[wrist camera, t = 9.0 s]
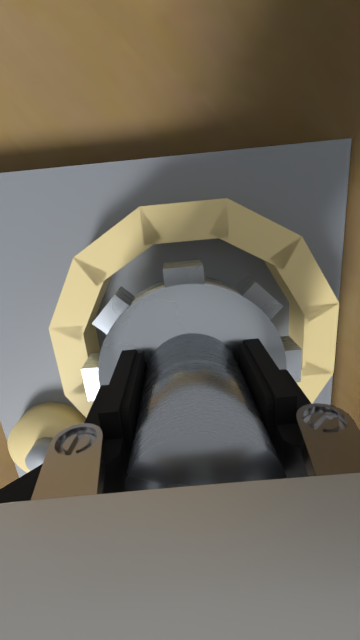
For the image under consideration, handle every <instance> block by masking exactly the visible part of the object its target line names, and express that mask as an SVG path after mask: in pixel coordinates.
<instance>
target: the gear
mask: <svg viewBox="0 0 360 640" xmlns="http://www.w3.org/2000/svg"><path fill="white" fill-rule="evenodd" d="M163 276H164V281H160V282H158V283H156V284H153V285H151V286H149V287H147V288H146V289H144V290H143V291H141V292H139V293H138V294H137V295H136V296H134V295H132V294H131V293H130V292H128V291H127V290H126V289H125V288H123V287H122V286H121V287H120V288H119V289H118V291H117V292H116V293H115V294H114V296H113V297H112V298H111V299H110V301H109V302H108V303H107V305H106V306H105V307H104V308H103V310H102V311H101V312H100V314H99V315H98V316H97V317H96V319H95V320H94V321H93V323H92V324H93V325H94V326H96V327H97V328H99V329H100V330H101V331H103V332H104V333H105V334H107V336H106V338H105V340H104V342H103V345H102V348H101V351H100V353H91V354H90V355H89V357H88V359H87V360H86V362H85V364H84V365H83V367H82V369H81V371H82V375H83V380H84V385H85V389H86V394H87V398H88V401H90V400H94V399H95V397H96V395H97V392H98V390H99V388H100V386H101V385H109V383H110V380H111V378H112V375H113V372H114V370H115V367H116V365H117V362H118V359H119V357H120V354H121V352H122V350H134V349H137V352H138V353H143V358H144V365H145V372H146V373H145V378H144V384H143V389H142V395H141V400H140V405H139V411H138V416H137V422H136V427H135V433H134V438H133V444H132V449H131V454H130V460H129V465H128V471H127V476H126V482H125V487H124V492H129V491H140V490H151V489H163V488H175V487H186V486H198V485H210V484H222V483H234V482H246V481H259V480H272V479H284V478H287V477H286V474H285V472H284V470H283V467H282V465H281V463H280V460H279V458H278V456H277V453H276V451H275V449H274V446H273V444H272V442H271V439H270V437H269V434H268V432H267V430H266V427H265V425H264V423H263V420H262V418H261V416H260V413H259V411H258V409H257V406H256V404H255V402H254V399H253V397H252V395H251V392H250V390H249V388H248V385H247V383H246V381H245V378H244V376H243V374H242V371H241V369H240V367H239V364H238V344H242V343H243V340H245V339H257V338H258V339H259V340H260V341H261V343H262V344H263V346H264V347H265V349H266V350H267V352H268V353H269V355H270V356H271V358H272V359H273V361H274V362H275V364H276V365H277V367H278V368H279V370H281V369H286V370H287V371H288V372H289V373H290V374H291V376H292V377H293V379H294V380H295V381H296V382H301V362H302V349H301V348H300V347H299V346H298V345H297V344H296V343H295V342H294V341H293V339H292V338H291V337H290V336H280V335H279V333H278V331H277V330H276V328H275V326H274V324H273V323H272V322H271V321H270V320H271V319H272V317H273V316H274V315H275V314H276V313H277V312H278V311H279V310H280V309H281V308H282V307H283V305H281V304H280V303H279V302H278V301H277V300H276V299H275V298H273V297H272V296H271V295H270V294H269V293H268V292H267V291H265V290H264V289H263V288H262V287H261V286H260V285H259V284H258V283H256V282H255V281H254V280H253V279H252V278H250V277H249V276H248V275H246V276H245V277H244V278H243V279H242V280H241V281H240V282H239V283H238V284H237V286H236V287H234V286H232V285H230V284H228V283H225V282H223V281H220V280H217V279H213V278H209V277H204V266H203V264H202V262H201V260H191V261H181V262H170V263H164V266H163Z"/></svg>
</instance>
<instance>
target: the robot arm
mask: <svg viewBox="0 0 360 640" xmlns="http://www.w3.org/2000/svg"><path fill="white" fill-rule="evenodd" d="M238 364H239V367H240V369H241V371H242V374H243V376H244V378H245V381H246V383H247V385H248V388H249V390H250V392H251V395H252V397H253V399H254V402H255V404H256V406H257V409H258V411H259V413H260V416H261V418H262V420H263V423H264V425H265V427H266V430H267V432H268V434H269V437H270V439H271V442H272V444H273V446H274V449H275V451H276V453H277V456H278V458H279V460H280V463H281V465H282V467H283V470H284V472H285V474H286V477H287V478H284V479H272V480H259V481H246V482H234V483H222V484H210V485H198V486H186V487H175V488H163V489H151V490H140V491H129V492H124V487H125V482H126V476H127V471H128V465H129V460H130V454H131V449H132V444H133V438H134V433H135V427H136V422H137V416H138V411H139V405H140V400H141V395H142V389H143V384H144V378H145V373H146V372H145V365H144V358H143V353H138V352H137V349H134V350H122V352H121V354H120V357H119V359H118V362H117V365H116V367H115V370H114V372H113V375H112V378H111V380H110V383H109V385H101V386H100V388H99V390H98V392H97V395H96V397H95V399H94V402H93V404H92V406H91V408H90V411H89V413H88V415H87V418H86V420H85V422H84V423H83V424H77V425H73V426H70V427H68V428H66V429H64V430H62V431H61V432H60V433H58V434H57V435H56V436H55V437H54V438H53V439H52V440H51V442H50V444H49V447H48V450H47V453H46V456H45V459H44V462H43V464H41V465H40V466H38V467H36V468H35V469H33V470H31V471H30V472H28V473H26V474H25V475H23V476H21V477H20V478H18V479H17V480H15V481H13V482H12V483H10V484H8V485H7V486H5V487H3V488H2V489H0V640H360V430H359V428H358V427H357V425H356V423H355V422H354V420H353V419H352V418H351V416H350V415H349V414H348V413H346V412H345V411H343V410H342V409H340V408H337V407H335V406H332V405H328V404H320V403H314V404H311V402H310V401H309V399H308V398H307V397H306V395H305V394H304V392H303V391H302V390H301V388H300V387H299V386H298V384H297V383H296V381H295V380H294V379H293V377H292V376H291V374H290V373H289V372H288V371H287V370H286V369H281V370H279V368H278V367H277V365H276V364H275V362H274V361H273V359H272V358H271V356H270V355H269V353H268V352H267V350H266V349H265V347H264V346H263V344H262V343H261V341H260V340H259V339H258V338H257V339H245V340H243V343H242V344H238Z"/></svg>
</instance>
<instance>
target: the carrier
mask: <svg viewBox="0 0 360 640" xmlns="http://www.w3.org/2000/svg"><path fill="white" fill-rule="evenodd" d="M351 140H352V138H348V139H338V140H327V141H317V142H307V143H297V144H287V145H277V146H267V147H257V148H247V149H237V150H227V151H217V152H207V153H196V154H186V155H176V156H166V157H156V158H146V159H136V160H126V161H116V162H106V163H96V164H86V165H76V166H65V167H55V168H45V169H35V170H25V171H15V172H5V173H0V421H1V424H2V427H3V430H4V433H5V436H6V439H7V442H8V450H9V453H10V455H11V457H12V459H13V461H14V463H15V466H16V469H17V472H18V475H19V478H20V477H21V476H23V475H25V474H26V473H28V472H30V471H31V470H33V469H35V468H36V467H38V466H40V465H41V464H43V462H44V459H45V456H46V453H47V450H48V447H49V444H50V442H51V440H52V439H53V438H54V437H55V436H56V435H57V434H58V433H60V432H61V431H62V430H64V429H66V428H68V427H70V426H73V425H77V424H83V423H84V422H85V420H86V418H87V415H88V413H89V411H90V408H91V406H92V404H93V402H94V400H90V401H88V398H87V394H86V389H85V385H84V380H83V375H82V371H81V369H82V367H83V365H84V364H85V362H86V360H87V359H88V357H89V355H90V354H91V353H100V351H101V348H102V345H103V342H104V340H105V338H106V336H107V334H105V333H104V332H103V331H101V330H100V329H99V328H97V327H96V326H94V325H93V324H92V323H93V321H94V320H95V319H96V317H97V316H98V315H99V314H100V312H101V311H102V310H103V308H104V307H105V306H106V305H107V303H108V302H109V301H110V299H111V298H112V297H113V296H114V294H115V293H116V292H117V291H118V289H119V288H120V287H121V286H122V287H123V288H125V289H126V290H127V291H128V292H130V293H131V294H132V295H134V296H136V295H137V294H138V293H139V292H141V291H143V290H144V289H146V288H147V287H149V286H151V285H153V284H156V283H158V282H160V281H164V276H163V266H164V263H170V262H181V261H191V260H201V262H202V264H203V266H204V277H209V278H213V279H217V280H220V281H223V282H225V283H228V284H230V285H232V286H234V287H236V286H237V284H238V283H239V282H240V281H241V280H242V279H243V278H244V277H245V276H246V275H248V276H249V277H250V278H252V279H253V280H254V281H255V282H256V283H258V284H259V285H260V286H261V287H262V288H263V289H264V290H265V291H267V292H268V293H269V294H270V295H271V296H272V297H273V298H275V299H276V300H277V301H278V302H279V303H280V304H281V305H283V307H282V308H281V309H280V310H279V311H278V312H277V313H276V314H275V315H274V316H273V317H272V319H271V320H270V321H271V322H272V323H273V324H274V326H275V328H276V330H277V331H278V333H279V335H280V336H290V337H291V338H292V339H293V341H294V342H295V343H296V344H297V345H298V346H299V347H300V348H301V349H302V362H301V382H296V383H297V384H298V386H299V387H300V388H301V390H302V391H303V392H304V394H305V395H306V397H307V398H308V399H309V401H310V402H311V404H314V403H320V404H328V405H331V392H332V380H333V373H334V362H335V350H336V337H337V325H338V312H339V291H340V279H341V266H342V254H343V241H344V228H345V216H346V203H347V190H348V178H349V165H350V153H351Z"/></svg>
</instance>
